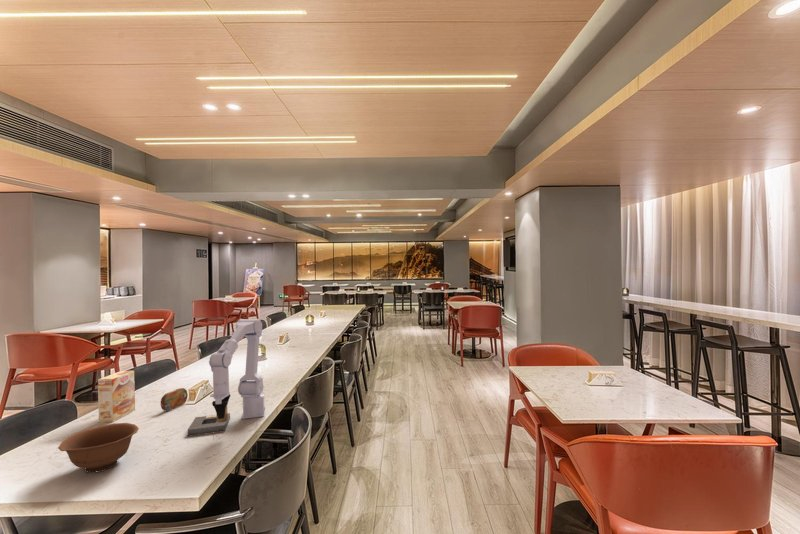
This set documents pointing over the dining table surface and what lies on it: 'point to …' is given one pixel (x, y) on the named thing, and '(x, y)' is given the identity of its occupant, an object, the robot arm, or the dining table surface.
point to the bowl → (99, 446)
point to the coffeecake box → (116, 396)
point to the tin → (174, 399)
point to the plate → (207, 425)
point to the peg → (224, 416)
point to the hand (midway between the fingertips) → (222, 416)
